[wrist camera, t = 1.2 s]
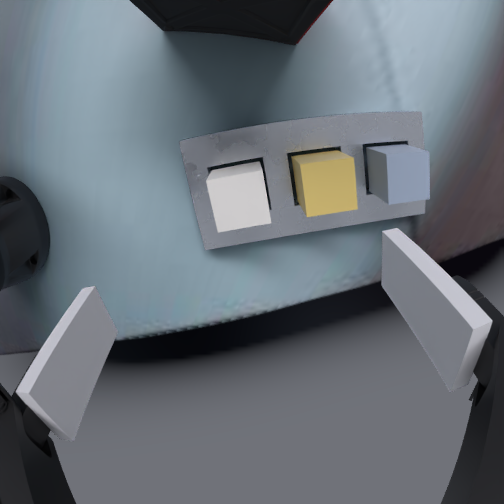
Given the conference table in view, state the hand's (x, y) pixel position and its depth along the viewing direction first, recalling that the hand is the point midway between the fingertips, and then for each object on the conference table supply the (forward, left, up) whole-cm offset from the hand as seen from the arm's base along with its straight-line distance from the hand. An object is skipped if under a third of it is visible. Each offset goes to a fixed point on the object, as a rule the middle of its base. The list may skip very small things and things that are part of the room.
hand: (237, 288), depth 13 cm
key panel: (+8, -1, -21) cm, 23 cm away
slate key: (+16, -1, -20) cm, 25 cm away
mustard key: (+8, -1, -20) cm, 21 cm away
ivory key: (0, -1, -20) cm, 20 cm away
